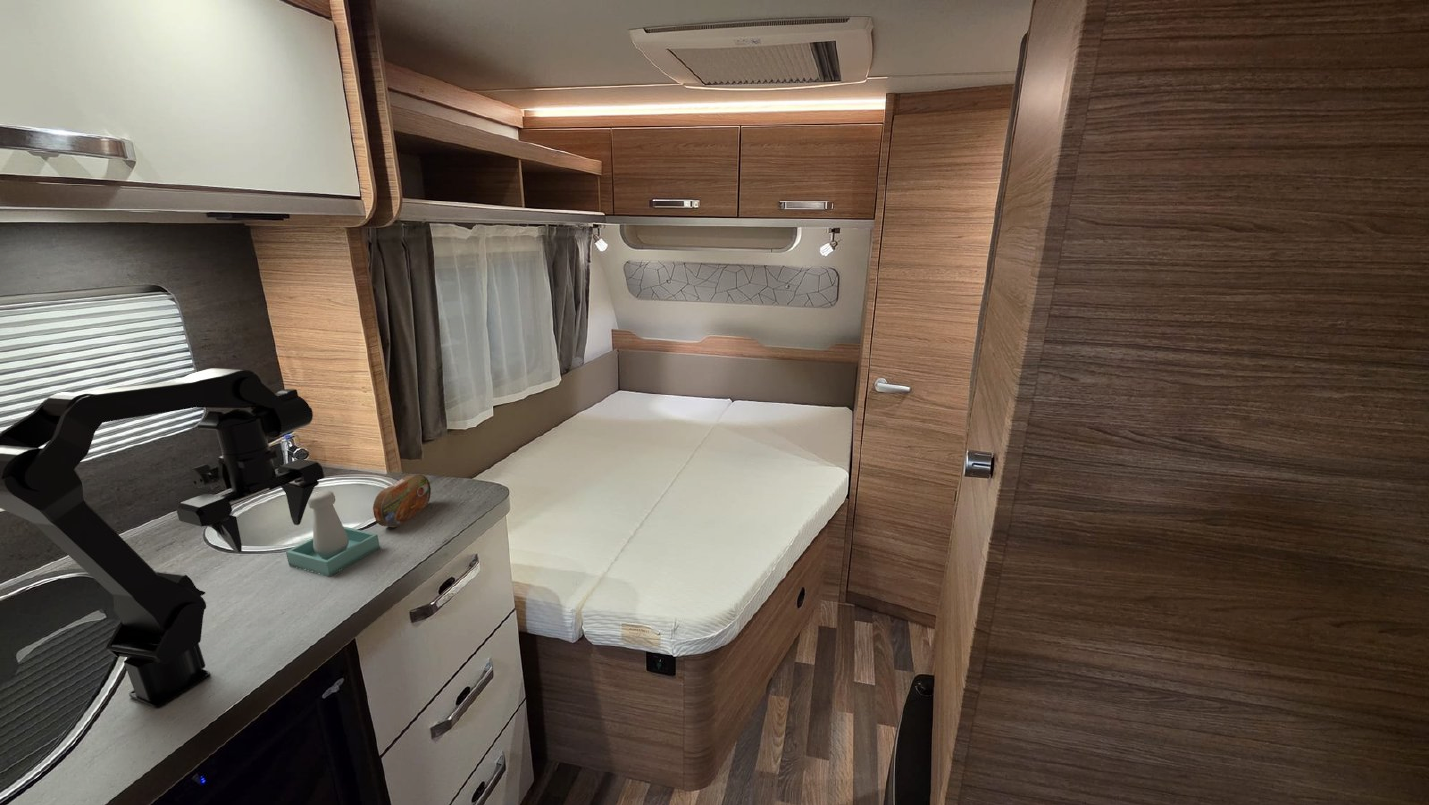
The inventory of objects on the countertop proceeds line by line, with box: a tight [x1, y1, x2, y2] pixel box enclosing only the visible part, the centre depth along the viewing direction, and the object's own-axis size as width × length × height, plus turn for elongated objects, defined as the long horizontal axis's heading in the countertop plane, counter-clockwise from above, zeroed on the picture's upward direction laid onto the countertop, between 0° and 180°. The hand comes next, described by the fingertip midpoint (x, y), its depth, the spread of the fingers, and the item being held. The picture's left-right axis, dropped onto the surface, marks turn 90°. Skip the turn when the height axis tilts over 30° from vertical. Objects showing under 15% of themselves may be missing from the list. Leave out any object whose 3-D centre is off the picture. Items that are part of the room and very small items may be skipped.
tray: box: [285, 525, 381, 577], centre depth 113 cm, size 11×11×3 cm
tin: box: [372, 474, 432, 528], centre depth 127 cm, size 15×3×8 cm, turn 168°
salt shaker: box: [307, 490, 349, 560], centre depth 111 cm, size 6×6×13 cm
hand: (268, 537), depth 95 cm, fingers open, 9 cm apart
